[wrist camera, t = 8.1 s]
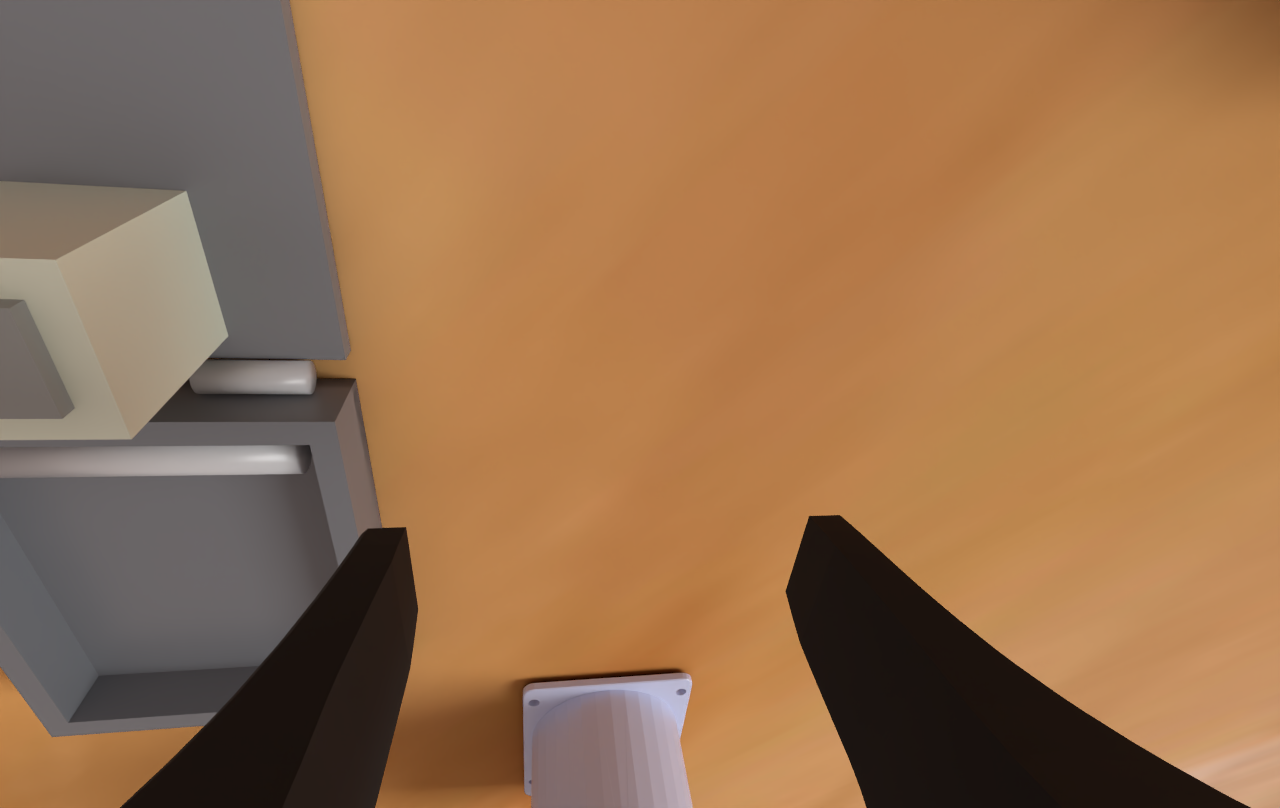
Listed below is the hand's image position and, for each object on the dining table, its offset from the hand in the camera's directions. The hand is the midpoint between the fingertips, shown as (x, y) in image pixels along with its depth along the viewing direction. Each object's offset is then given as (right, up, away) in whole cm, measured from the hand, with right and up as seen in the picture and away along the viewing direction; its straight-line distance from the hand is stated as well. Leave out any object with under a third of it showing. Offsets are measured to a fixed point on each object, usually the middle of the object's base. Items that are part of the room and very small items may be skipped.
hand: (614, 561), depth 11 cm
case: (-15, -2, +11) cm, 19 cm away
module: (-13, +6, +5) cm, 15 cm away
